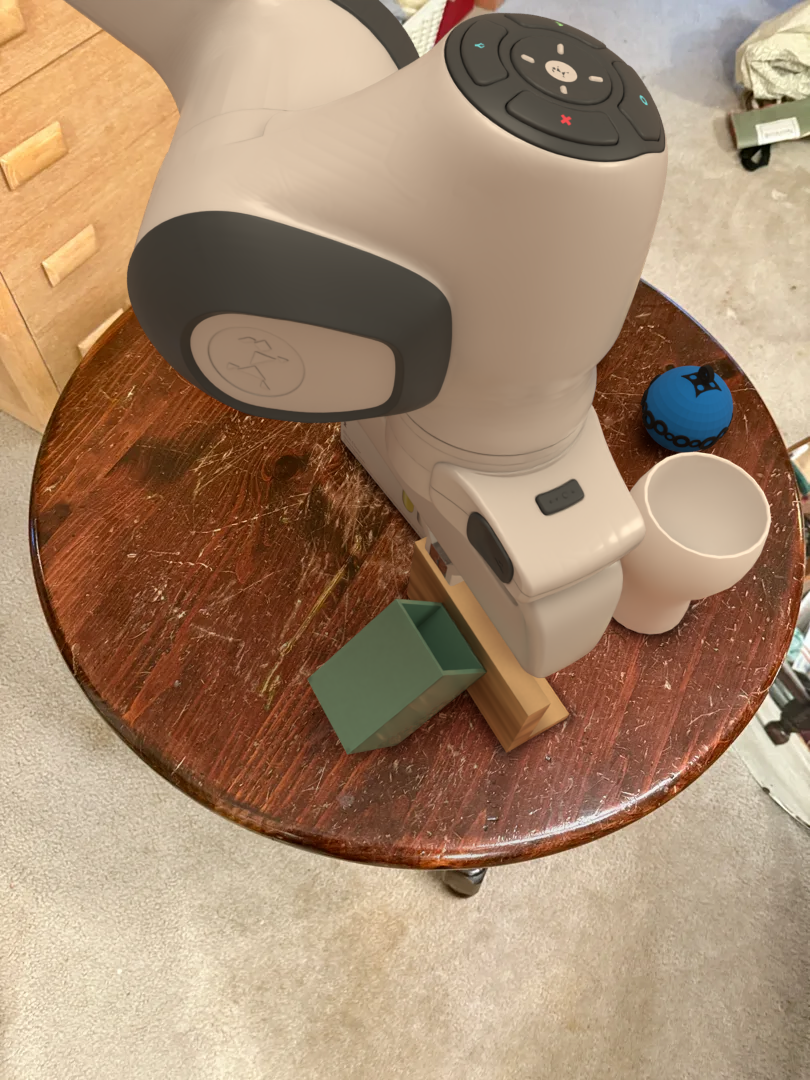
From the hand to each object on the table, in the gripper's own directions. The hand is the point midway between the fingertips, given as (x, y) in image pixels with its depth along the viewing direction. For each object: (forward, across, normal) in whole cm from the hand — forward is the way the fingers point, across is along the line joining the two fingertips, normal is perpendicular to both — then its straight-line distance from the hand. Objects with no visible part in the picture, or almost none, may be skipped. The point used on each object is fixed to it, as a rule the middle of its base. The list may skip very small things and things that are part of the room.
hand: (448, 563), depth 49 cm
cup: (+21, +2, +22) cm, 31 cm away
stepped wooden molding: (+21, 0, +6) cm, 22 cm away
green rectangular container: (+21, 0, -3) cm, 21 cm away
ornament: (+21, -11, +36) cm, 43 cm away
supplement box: (+21, -18, +13) cm, 31 cm away
